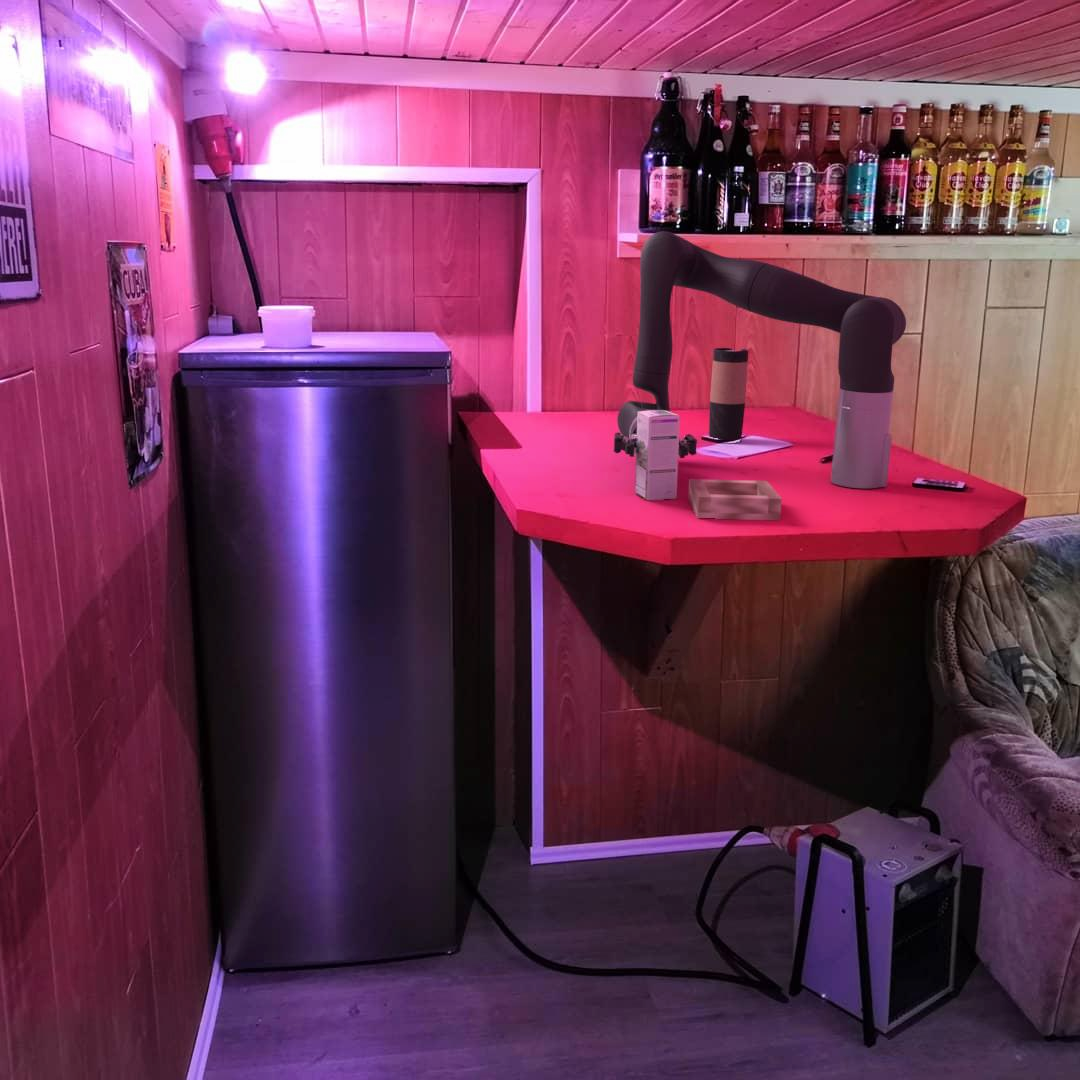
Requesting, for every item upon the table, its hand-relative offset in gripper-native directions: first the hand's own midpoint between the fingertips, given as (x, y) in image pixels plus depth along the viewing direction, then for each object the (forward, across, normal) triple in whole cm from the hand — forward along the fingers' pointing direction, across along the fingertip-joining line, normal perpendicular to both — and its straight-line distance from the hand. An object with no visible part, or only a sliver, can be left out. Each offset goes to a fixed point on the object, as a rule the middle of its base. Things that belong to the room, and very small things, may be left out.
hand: (657, 451), depth 177 cm
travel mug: (-57, +20, +8) cm, 61 cm away
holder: (+7, +12, +8) cm, 16 cm away
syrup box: (-1, 0, +8) cm, 8 cm away
